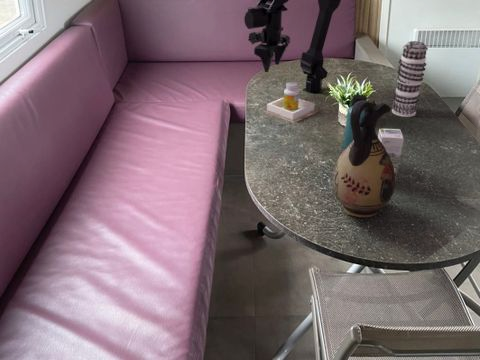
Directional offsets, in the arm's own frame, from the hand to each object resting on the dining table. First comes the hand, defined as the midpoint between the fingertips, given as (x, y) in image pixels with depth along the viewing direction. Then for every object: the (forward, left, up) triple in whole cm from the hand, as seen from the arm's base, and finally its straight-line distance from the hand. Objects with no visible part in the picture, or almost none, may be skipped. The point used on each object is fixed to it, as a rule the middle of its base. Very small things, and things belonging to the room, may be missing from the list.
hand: (271, 68), depth 184 cm
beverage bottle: (+16, +47, -13) cm, 51 cm away
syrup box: (+20, +60, -13) cm, 65 cm away
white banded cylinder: (-26, +41, -13) cm, 50 cm away
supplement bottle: (+3, +12, -12) cm, 17 cm away
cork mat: (+2, +12, -13) cm, 18 cm away
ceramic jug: (+38, +63, -13) cm, 75 cm away
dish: (+3, +12, -13) cm, 18 cm away
